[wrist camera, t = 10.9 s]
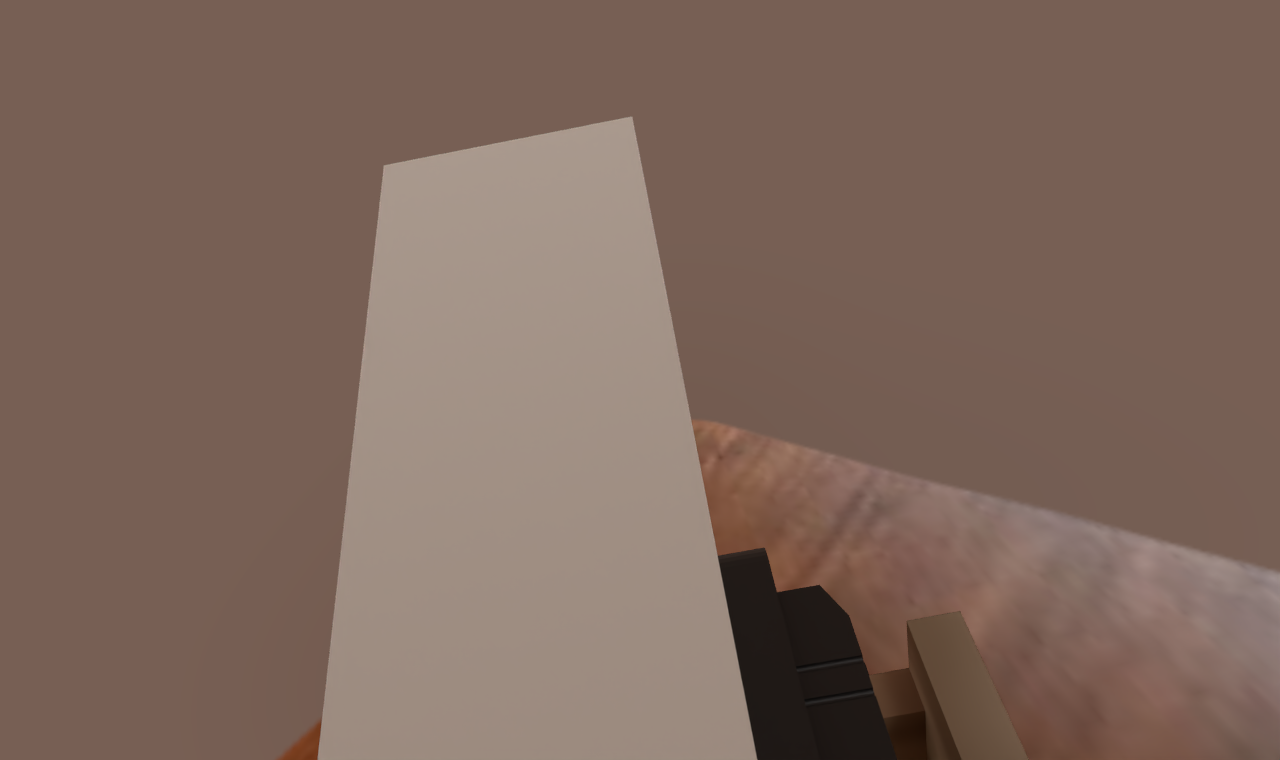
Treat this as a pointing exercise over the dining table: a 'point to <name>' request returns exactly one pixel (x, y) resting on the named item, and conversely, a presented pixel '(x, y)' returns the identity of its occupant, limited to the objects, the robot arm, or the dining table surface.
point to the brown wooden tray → (945, 698)
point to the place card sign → (526, 478)
